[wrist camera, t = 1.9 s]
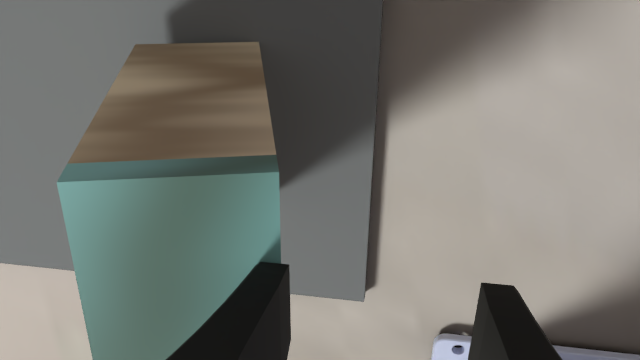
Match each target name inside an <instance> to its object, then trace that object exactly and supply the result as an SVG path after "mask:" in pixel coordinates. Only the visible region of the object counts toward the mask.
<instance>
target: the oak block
mask: <svg viewBox="0 0 640 360" xmlns="http://www.w3.org/2000/svg"><path fill="white" fill-rule="evenodd" d="M57 187H58V192H59V197H60V202H61V206H62V211H63V216H64V221H65V226H66V231H67V236H68V241H69V245H70V250H71V255H72V260H73V265H74V270H75V275H76V280H77V284H78V289H79V294H80V299H81V304H82V309H83V314H84V319H85V323H86V328H87V333H88V338H89V343H90V348H91V353H92V358H93V360H166V359H167V358H168V357H169V356H170V355H171V354H172V353H174V352H175V351H176V350H177V349H178V348H179V347H180V346H181V345H182V344H183V343H184V342H185V341H186V340H187V339H188V338H189V337H191V336H192V335H193V334H194V333H195V332H196V331H197V330H198V329H199V328H200V327H201V326H202V325H203V324H204V323H205V322H206V321H207V320H208V319H209V317H210V316H211V315H212V314H213V313H214V312H215V311H216V310H217V309H218V308H219V307H220V306H221V305H222V304H223V303H224V302H225V300H226V299H227V298H228V297H229V296H230V295H231V294H232V293H233V291H234V290H235V289H236V288H237V287H238V286H239V284H240V283H241V282H242V281H243V280H244V279H245V277H246V276H247V275H248V274H249V273H250V271H251V270H252V269H253V268H254V266H255V265H257V264H258V263H259V262H269V263H280V264H281V237H280V192H279V168H278V162H277V156H276V149H275V143H274V136H273V130H272V123H271V117H270V110H269V104H268V97H267V91H266V84H265V78H264V72H263V65H262V59H261V52H260V46H259V42H222V43H175V44H135V46H134V48H133V49H132V51H131V53H130V55H129V56H128V58H127V60H126V62H125V63H124V65H123V67H122V69H121V70H120V72H119V74H118V76H117V77H116V79H115V81H114V83H113V84H112V86H111V88H110V90H109V91H108V93H107V95H106V97H105V98H104V100H103V102H102V104H101V105H100V107H99V109H98V111H97V112H96V114H95V116H94V118H93V119H92V121H91V123H90V125H89V126H88V128H87V130H86V132H85V133H84V135H83V137H82V139H81V140H80V142H79V144H78V146H77V147H76V149H75V151H74V153H73V154H72V156H71V158H70V160H69V161H68V163H67V165H66V167H65V168H64V170H63V172H62V174H61V175H60V177H59V179H58V181H57Z"/></svg>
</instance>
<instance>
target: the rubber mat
mask: <svg viewBox="0 0 640 360" xmlns="http://www.w3.org/2000/svg"><path fill="white" fill-rule="evenodd" d="M382 10H383V0H0V263H6V264H15V265H24V266H34V267H43V268H52V269H62V270H71V271H75V270H74V265H73V260H72V255H71V250H70V245H69V241H68V236H67V231H66V226H65V221H64V216H63V211H62V206H61V202H60V197H59V192H58V187H57V181H58V179H59V177H60V175H61V174H62V172H63V170H64V168H65V167H66V165H67V163H68V161H69V160H70V158H71V156H72V154H73V153H74V151H75V149H76V147H77V146H78V144H79V142H80V140H81V139H82V137H83V135H84V133H85V132H86V130H87V128H88V126H89V125H90V123H91V121H92V119H93V118H94V116H95V114H96V112H97V111H98V109H99V107H100V105H101V104H102V102H103V100H104V98H105V97H106V95H107V93H108V91H109V90H110V88H111V86H112V84H113V83H114V81H115V79H116V77H117V76H118V74H119V72H120V70H121V69H122V67H123V65H124V63H125V62H126V60H127V58H128V56H129V55H130V53H131V51H132V49H133V48H134V46H135V44H175V43H222V42H259V46H260V52H261V59H262V65H263V72H264V78H265V84H266V91H267V97H268V104H269V110H270V117H271V123H272V130H273V136H274V143H275V149H276V156H277V162H278V168H279V192H280V237H281V264H289V272H290V294H296V295H305V296H315V297H324V298H333V299H343V300H352V301H361V302H364V298H365V289H366V272H367V256H368V240H369V223H370V207H371V190H372V174H373V157H374V141H375V125H376V108H377V92H378V75H379V59H380V43H381V26H382Z"/></svg>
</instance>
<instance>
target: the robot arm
mask: <svg viewBox="0 0 640 360" xmlns="http://www.w3.org/2000/svg"><path fill="white" fill-rule="evenodd" d="M290 340H291V326H290V272H289V264H280V263H269V262H259V263H258V264H257V265H255V266H254V268H253V269H252V270H251V271H250V273H249V274H248V275H247V276H246V277H245V279H244V280H243V281H242V282H241V283H240V284H239V286H238V287H237V288H236V289H235V290H234V291H233V293H232V294H231V295H230V296H229V297H228V298H227V299H226V300H225V302H224V303H223V304H222V305H221V306H220V307H219V308H218V309H217V310H216V311H215V312H214V313H213V314H212V315H211V316H210V317H209V319H208V320H207V321H206V322H205V323H204V324H203V325H202V326H201V327H200V328H199V329H198V330H197V331H196V332H195V333H194V334H193V335H192V336H191V337H189V338H188V339H187V340H186V341H185V342H184V343H183V344H182V345H181V346H180V347H179V348H178V349H177V350H176V351H175V352H174V353H172V354H171V355H170V356H169V357H168V358H167V359H166V360H287V356H288V351H289V346H290ZM455 345H460V346H462V347H460V348H456V347H453V346H455ZM431 360H640V355H635V354H626V353H617V352H608V351H599V350H590V349H581V348H572V347H563V346H554V345H552V344H551V343H550V341H549V340H548V338H547V337H546V335H545V334H544V332H543V331H542V329H541V328H540V326H539V325H538V323H537V322H536V320H535V318H534V317H533V315H532V314H531V312H530V310H529V309H528V307H527V305H526V304H525V302H524V300H523V299H522V297H521V295H520V294H519V292H518V291H517V289H516V288H515V287H514V286H511V285H501V284H490V283H481V288H480V293H479V299H478V305H477V310H476V316H475V321H474V327H473V333H472V336H465V335H456V334H440V335H438V336H437V337H435V339H434V342H433V349H432V357H431Z"/></svg>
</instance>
